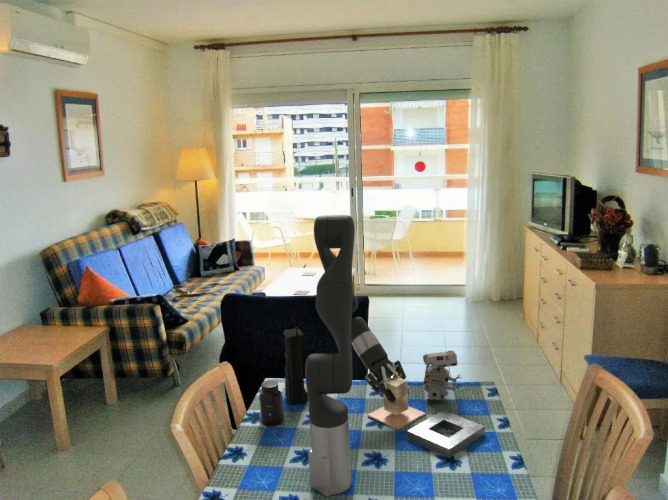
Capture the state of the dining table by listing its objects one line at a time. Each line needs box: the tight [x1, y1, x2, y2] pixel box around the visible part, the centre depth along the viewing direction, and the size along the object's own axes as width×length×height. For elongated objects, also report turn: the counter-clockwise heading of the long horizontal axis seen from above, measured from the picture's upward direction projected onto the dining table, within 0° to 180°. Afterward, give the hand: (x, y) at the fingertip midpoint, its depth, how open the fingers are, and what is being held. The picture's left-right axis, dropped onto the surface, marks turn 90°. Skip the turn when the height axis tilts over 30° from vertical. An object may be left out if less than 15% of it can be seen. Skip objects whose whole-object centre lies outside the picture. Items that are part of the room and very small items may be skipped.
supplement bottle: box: [258, 380, 285, 428], centre depth 176 cm, size 7×7×12 cm
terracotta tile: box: [367, 405, 426, 431], centre depth 177 cm, size 12×12×1 cm
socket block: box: [406, 409, 486, 459], centre depth 163 cm, size 16×14×2 cm
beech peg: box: [383, 377, 409, 415], centre depth 175 cm, size 5×5×9 cm
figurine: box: [422, 350, 462, 405], centre depth 185 cm, size 9×12×15 cm
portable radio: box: [283, 326, 308, 406], centre depth 188 cm, size 8×6×25 cm
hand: (400, 398), depth 174 cm, fingers closed on beech peg, 5 cm apart
